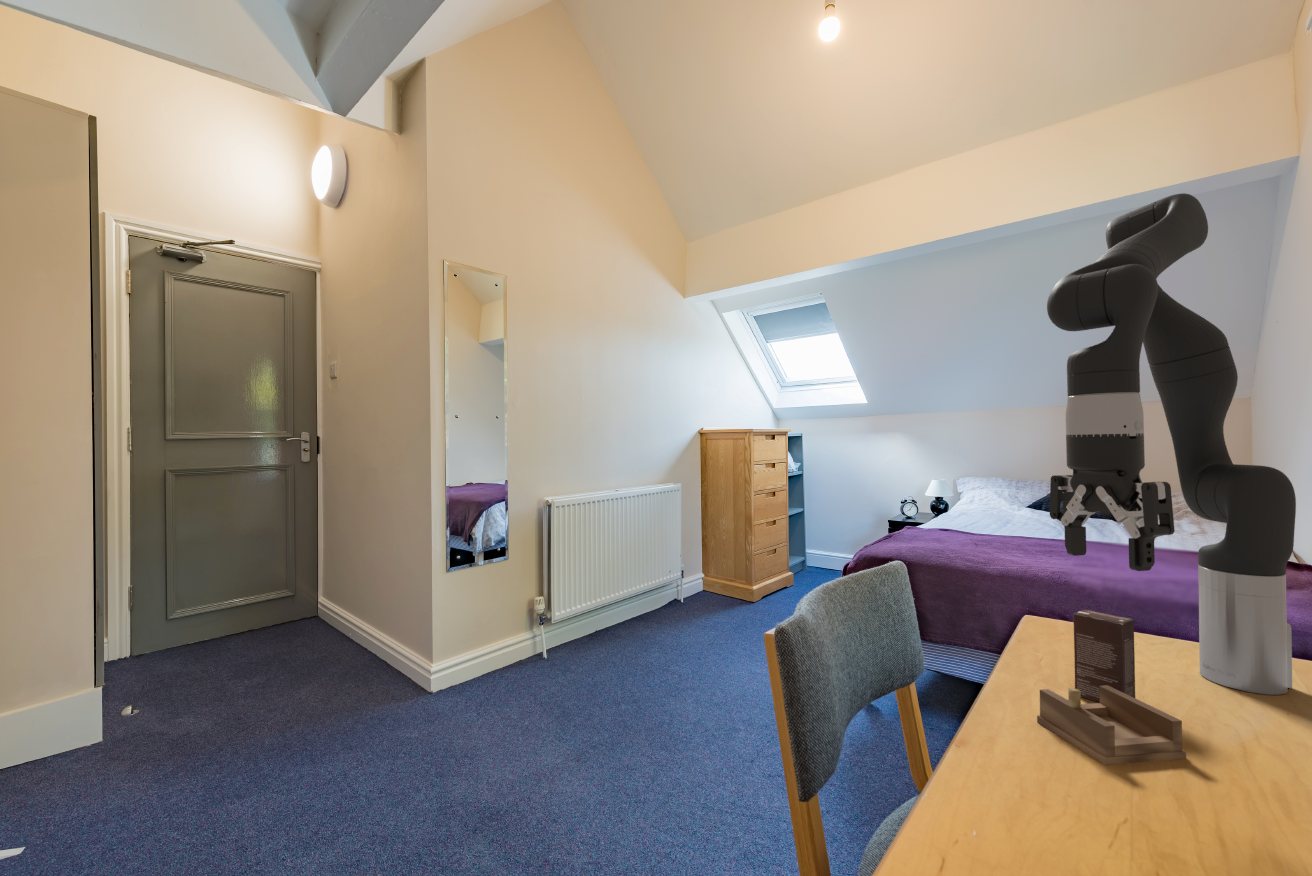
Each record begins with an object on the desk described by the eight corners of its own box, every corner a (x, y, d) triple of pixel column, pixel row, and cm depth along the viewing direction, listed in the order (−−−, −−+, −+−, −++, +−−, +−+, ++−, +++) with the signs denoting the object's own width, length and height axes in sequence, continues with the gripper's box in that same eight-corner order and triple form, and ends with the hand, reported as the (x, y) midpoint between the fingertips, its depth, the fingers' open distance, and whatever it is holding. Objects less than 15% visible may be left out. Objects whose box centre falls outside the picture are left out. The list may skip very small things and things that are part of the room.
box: (1136, 703, 78) (1135, 618, 78) (1124, 712, 76) (1122, 624, 76) (1086, 687, 83) (1085, 607, 83) (1072, 695, 81) (1071, 612, 81)
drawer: (1108, 717, 74) (1107, 669, 74) (1186, 760, 64) (1185, 704, 64) (1037, 723, 73) (1036, 673, 73) (1105, 766, 63) (1104, 709, 63)
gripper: (1030, 433, 75) (1033, 552, 75) (1132, 431, 61) (1136, 577, 61) (1080, 432, 76) (1083, 549, 76) (1192, 429, 62) (1195, 574, 62)
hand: (1106, 562), depth 68 cm, fingers open, 8 cm apart
